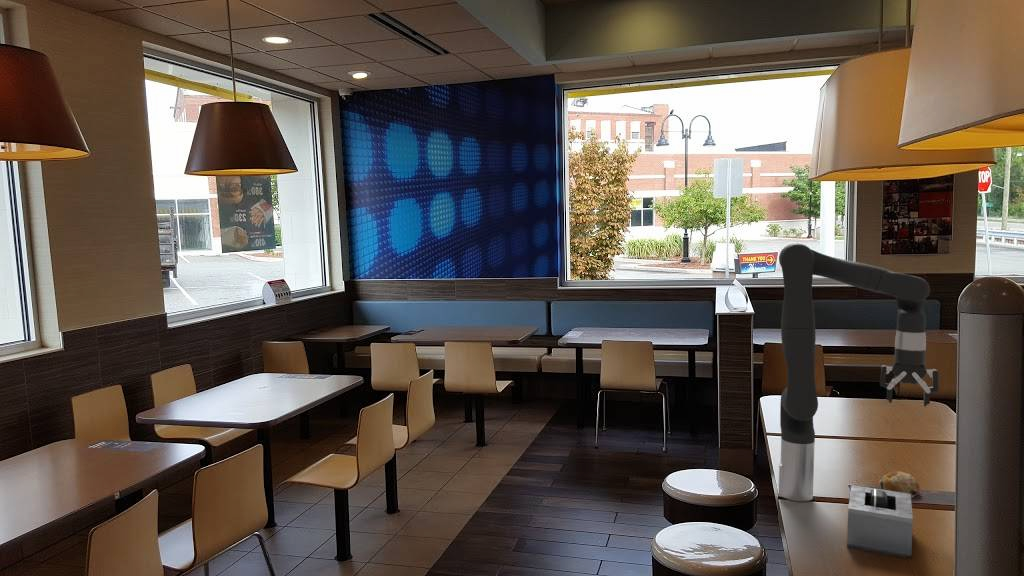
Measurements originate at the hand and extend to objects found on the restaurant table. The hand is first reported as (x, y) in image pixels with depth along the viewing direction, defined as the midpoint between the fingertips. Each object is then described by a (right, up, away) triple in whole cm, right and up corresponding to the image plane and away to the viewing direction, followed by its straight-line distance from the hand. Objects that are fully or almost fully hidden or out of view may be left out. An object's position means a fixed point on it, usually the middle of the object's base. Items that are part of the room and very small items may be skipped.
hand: (907, 403), depth 197 cm
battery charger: (-18, -31, -17) cm, 40 cm away
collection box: (-17, -32, -18) cm, 40 cm away
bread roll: (+6, -29, +15) cm, 33 cm away
